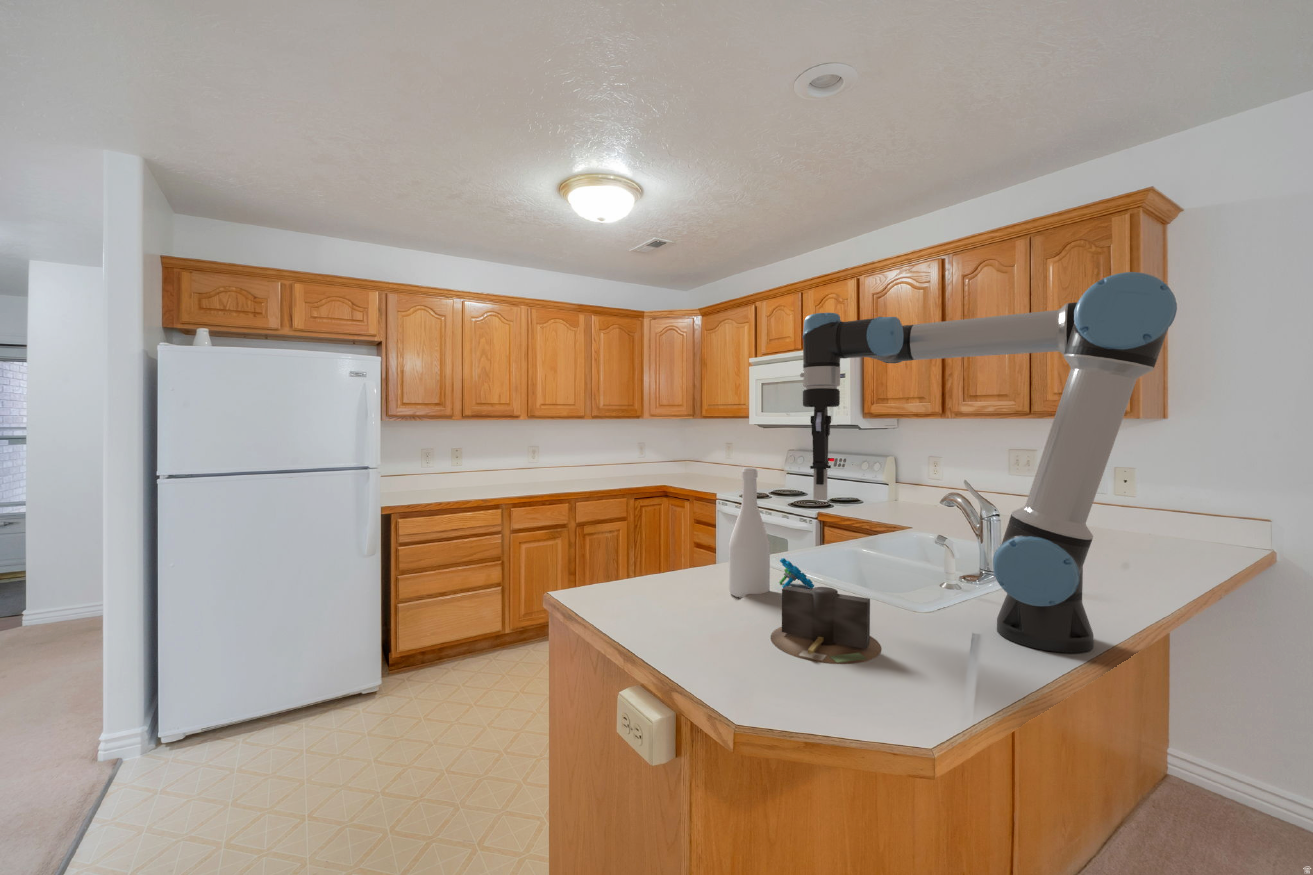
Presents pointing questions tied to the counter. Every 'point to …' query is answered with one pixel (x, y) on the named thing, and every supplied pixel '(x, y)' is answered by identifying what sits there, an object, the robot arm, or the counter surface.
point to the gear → (794, 574)
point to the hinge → (826, 616)
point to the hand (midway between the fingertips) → (820, 499)
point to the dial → (824, 649)
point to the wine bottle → (749, 544)
